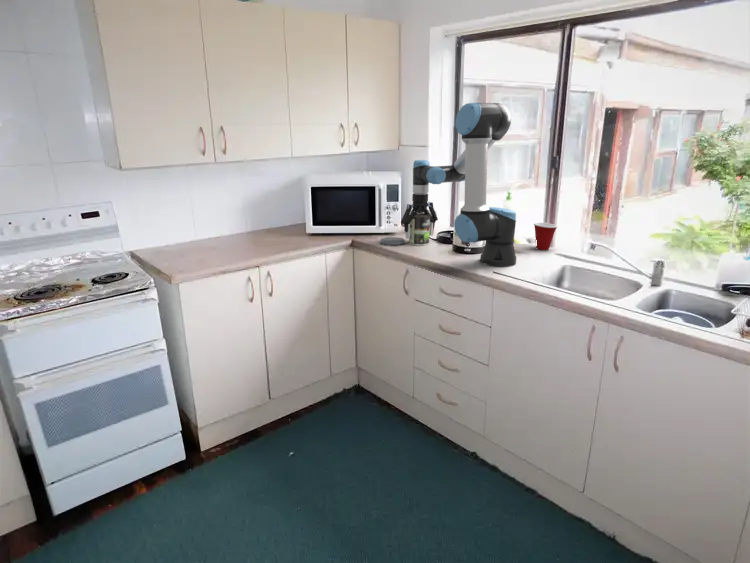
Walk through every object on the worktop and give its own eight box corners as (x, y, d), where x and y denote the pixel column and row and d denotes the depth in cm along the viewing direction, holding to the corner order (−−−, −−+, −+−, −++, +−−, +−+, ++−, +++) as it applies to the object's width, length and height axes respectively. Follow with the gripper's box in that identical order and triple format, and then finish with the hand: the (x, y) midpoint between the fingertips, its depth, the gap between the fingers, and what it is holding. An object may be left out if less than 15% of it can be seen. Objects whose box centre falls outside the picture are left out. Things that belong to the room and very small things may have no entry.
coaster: (409, 243, 246) (409, 240, 246) (388, 247, 240) (388, 244, 240) (396, 238, 256) (396, 236, 255) (375, 241, 250) (375, 238, 250)
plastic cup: (559, 250, 234) (562, 225, 231) (540, 252, 231) (542, 226, 227) (545, 245, 244) (548, 220, 240) (526, 246, 241) (528, 222, 237)
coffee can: (433, 242, 249) (434, 214, 244) (422, 246, 241) (423, 217, 236) (415, 239, 255) (416, 212, 250) (404, 243, 247) (404, 215, 242)
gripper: (436, 190, 249) (435, 232, 256) (394, 194, 237) (393, 238, 244) (446, 192, 243) (444, 235, 249) (402, 196, 231) (401, 241, 238)
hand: (419, 236), depth 247 cm, fingers open, 13 cm apart
